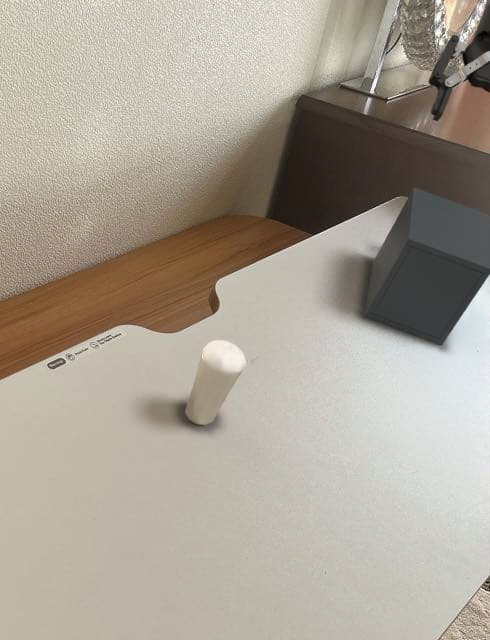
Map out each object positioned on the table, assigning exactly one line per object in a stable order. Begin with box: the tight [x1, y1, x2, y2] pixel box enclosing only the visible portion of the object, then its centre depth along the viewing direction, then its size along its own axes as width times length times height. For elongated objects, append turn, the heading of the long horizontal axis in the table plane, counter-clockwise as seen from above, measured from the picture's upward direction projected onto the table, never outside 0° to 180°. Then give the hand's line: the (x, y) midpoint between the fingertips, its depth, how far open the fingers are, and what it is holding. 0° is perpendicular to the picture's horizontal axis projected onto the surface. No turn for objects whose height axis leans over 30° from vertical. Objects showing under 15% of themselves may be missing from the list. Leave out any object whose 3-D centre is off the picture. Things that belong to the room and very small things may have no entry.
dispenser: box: [364, 186, 490, 346], centre depth 114 cm, size 14×11×12 cm
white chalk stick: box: [184, 339, 259, 426], centre depth 91 cm, size 5×5×10 cm
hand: (466, 129), depth 121 cm, fingers open, 8 cm apart
